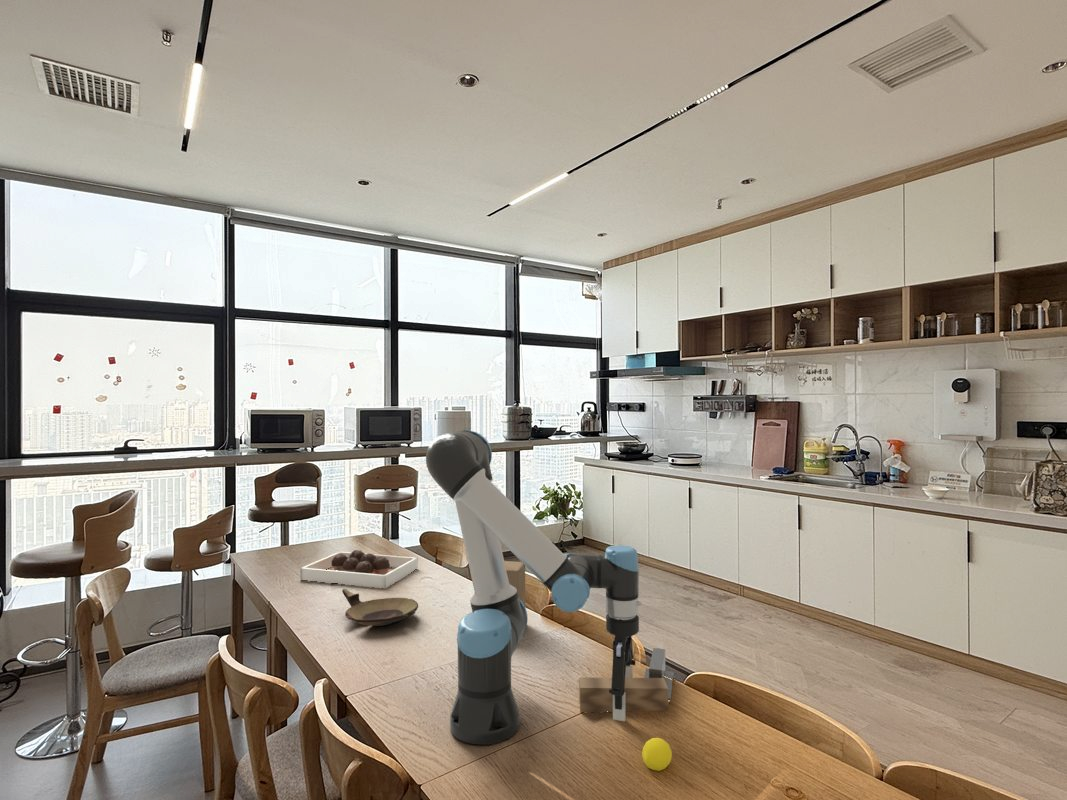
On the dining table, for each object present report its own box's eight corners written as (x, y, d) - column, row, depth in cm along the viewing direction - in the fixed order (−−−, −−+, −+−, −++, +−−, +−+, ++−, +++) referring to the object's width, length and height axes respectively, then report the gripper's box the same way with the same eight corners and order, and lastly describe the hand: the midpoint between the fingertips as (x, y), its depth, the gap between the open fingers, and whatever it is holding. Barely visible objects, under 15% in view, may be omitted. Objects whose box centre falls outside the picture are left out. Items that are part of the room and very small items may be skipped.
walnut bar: (664, 703, 137) (663, 677, 137) (668, 714, 132) (668, 688, 132) (579, 702, 138) (578, 677, 138) (580, 714, 133) (580, 687, 133)
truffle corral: (385, 589, 221) (385, 575, 221) (300, 580, 231) (300, 568, 231) (417, 569, 245) (417, 557, 245) (339, 562, 256) (339, 551, 256)
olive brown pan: (363, 643, 172) (363, 617, 172) (329, 614, 196) (329, 591, 196) (431, 625, 185) (431, 601, 185) (392, 599, 209) (392, 578, 209)
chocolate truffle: (323, 574, 241) (323, 554, 241) (358, 565, 254) (358, 546, 254) (362, 588, 223) (362, 566, 223) (397, 577, 236) (397, 557, 236)
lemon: (659, 782, 109) (658, 753, 109) (635, 769, 113) (635, 741, 113) (679, 765, 114) (679, 738, 114) (655, 754, 117) (655, 727, 117)
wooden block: (518, 637, 175) (518, 570, 175) (486, 634, 177) (486, 569, 177) (525, 624, 185) (525, 561, 185) (495, 622, 187) (495, 560, 187)
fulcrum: (670, 702, 137) (670, 673, 137) (640, 698, 139) (640, 669, 139) (673, 675, 150) (673, 648, 150) (646, 672, 152) (645, 645, 152)
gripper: (632, 636, 122) (633, 738, 122) (644, 598, 146) (644, 683, 146) (596, 633, 124) (597, 733, 124) (614, 595, 148) (614, 679, 148)
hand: (623, 706), depth 135 cm, fingers open, 12 cm apart
